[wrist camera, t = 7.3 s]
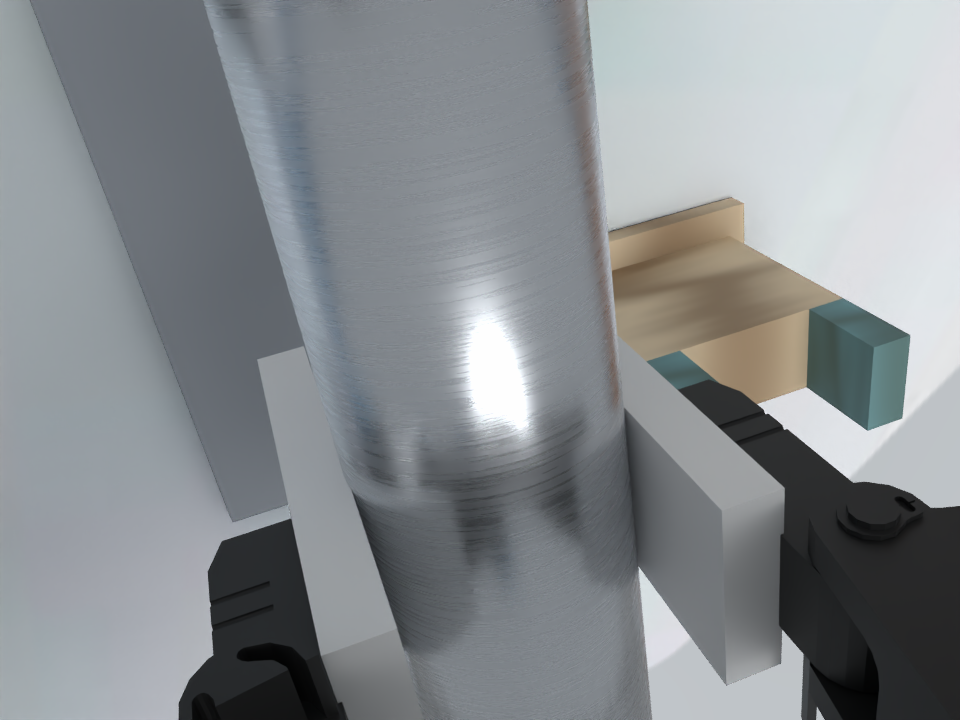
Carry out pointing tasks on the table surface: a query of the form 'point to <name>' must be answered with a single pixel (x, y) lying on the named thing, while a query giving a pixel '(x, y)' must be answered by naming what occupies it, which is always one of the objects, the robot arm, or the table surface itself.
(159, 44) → the pad
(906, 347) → the post
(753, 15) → the table surface
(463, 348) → the rail
